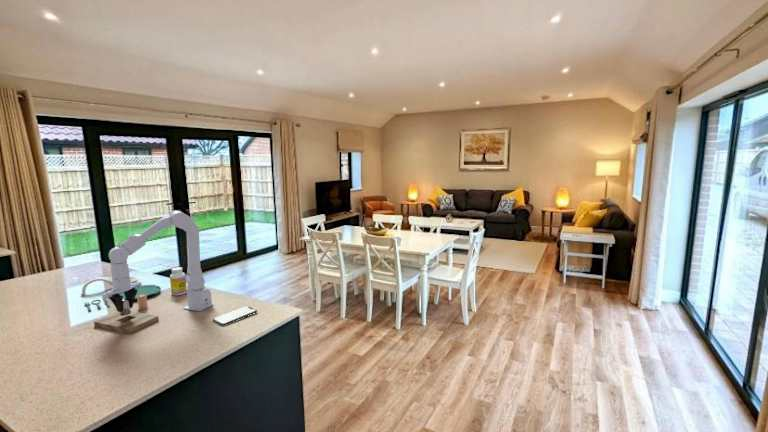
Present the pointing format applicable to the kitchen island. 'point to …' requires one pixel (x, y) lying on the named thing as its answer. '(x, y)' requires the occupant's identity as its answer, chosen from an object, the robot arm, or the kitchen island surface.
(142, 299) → the terracotta pin
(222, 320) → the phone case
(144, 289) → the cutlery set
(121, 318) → the wooden board with hole
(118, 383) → the kitchen island surface
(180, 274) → the supplement bottle
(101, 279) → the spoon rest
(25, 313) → the kitchen island surface
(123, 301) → the steel pin
